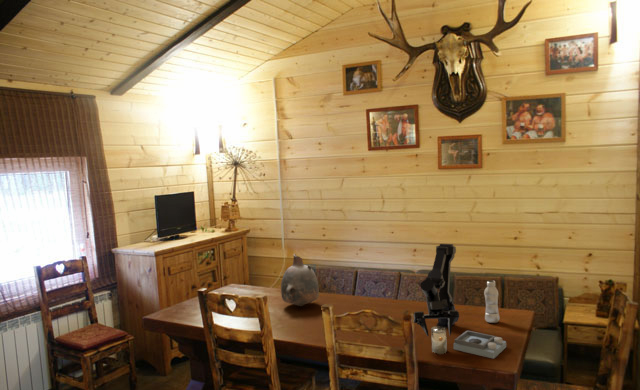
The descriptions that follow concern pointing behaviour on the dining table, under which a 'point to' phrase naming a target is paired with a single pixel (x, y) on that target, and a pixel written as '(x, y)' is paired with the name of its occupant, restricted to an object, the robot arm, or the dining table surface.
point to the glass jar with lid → (439, 340)
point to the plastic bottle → (491, 302)
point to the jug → (299, 284)
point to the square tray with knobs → (479, 344)
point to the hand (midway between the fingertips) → (439, 335)
